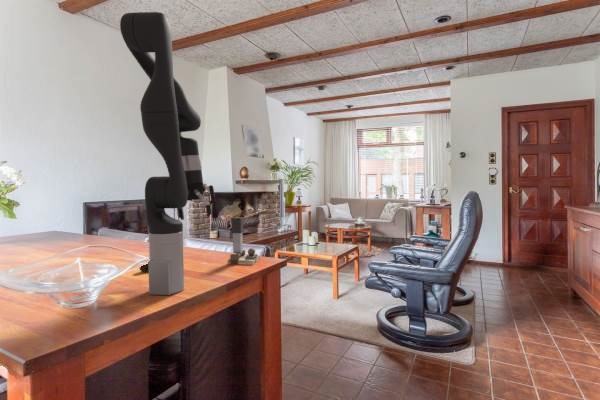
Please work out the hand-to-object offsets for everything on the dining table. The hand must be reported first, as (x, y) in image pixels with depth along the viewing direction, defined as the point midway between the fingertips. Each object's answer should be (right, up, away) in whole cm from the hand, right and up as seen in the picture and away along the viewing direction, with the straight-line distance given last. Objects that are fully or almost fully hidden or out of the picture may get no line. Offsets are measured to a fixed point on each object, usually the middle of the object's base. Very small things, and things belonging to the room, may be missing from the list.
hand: (195, 218), depth 116 cm
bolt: (-17, -19, +11) cm, 28 cm away
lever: (+10, -16, +21) cm, 28 cm away
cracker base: (+13, -18, +21) cm, 31 cm away
